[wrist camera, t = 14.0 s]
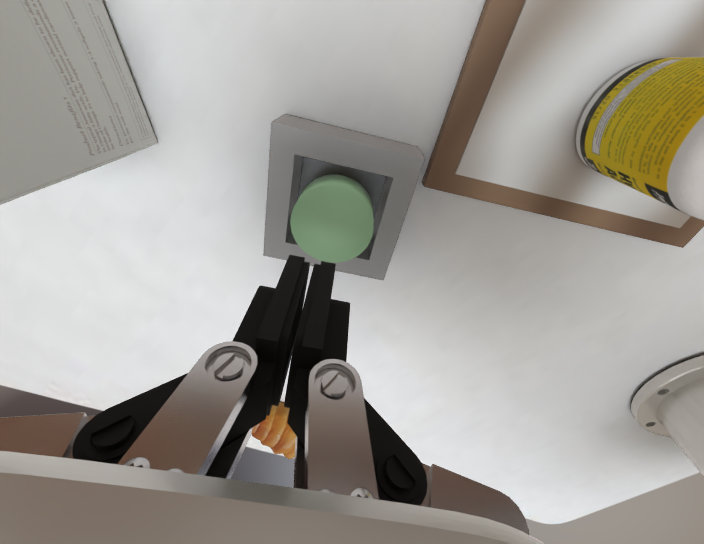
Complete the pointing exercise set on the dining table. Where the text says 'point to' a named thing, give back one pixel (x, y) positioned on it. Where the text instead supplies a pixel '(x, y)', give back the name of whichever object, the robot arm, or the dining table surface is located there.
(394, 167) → the button housing
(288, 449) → the pastry
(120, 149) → the supplement box
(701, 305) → the dining table surface
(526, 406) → the dining table surface
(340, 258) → the button
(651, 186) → the supplement bottle
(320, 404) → the robot arm
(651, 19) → the board
